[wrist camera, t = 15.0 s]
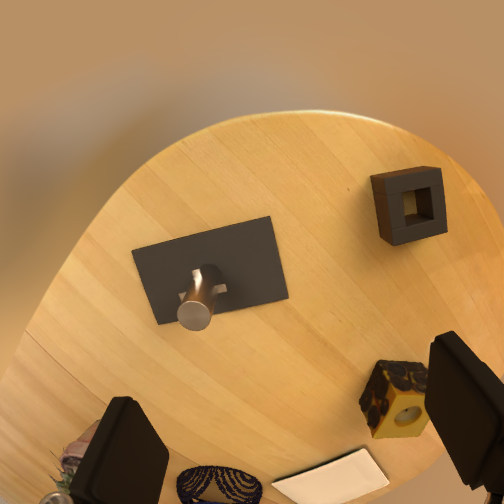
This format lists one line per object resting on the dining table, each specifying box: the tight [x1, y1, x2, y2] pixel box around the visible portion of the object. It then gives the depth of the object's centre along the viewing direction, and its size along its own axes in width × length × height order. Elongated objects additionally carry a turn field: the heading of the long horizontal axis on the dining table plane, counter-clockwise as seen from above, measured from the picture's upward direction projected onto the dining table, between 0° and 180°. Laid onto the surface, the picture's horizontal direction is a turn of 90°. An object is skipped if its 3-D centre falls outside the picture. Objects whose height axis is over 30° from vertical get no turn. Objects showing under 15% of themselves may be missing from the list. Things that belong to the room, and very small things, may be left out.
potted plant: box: [43, 420, 101, 495], centre depth 44 cm, size 18×20×25 cm
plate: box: [271, 448, 390, 504], centre depth 59 cm, size 22×22×2 cm
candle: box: [359, 360, 430, 439], centre depth 46 cm, size 10×10×10 cm
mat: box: [131, 216, 289, 325], centre depth 45 cm, size 12×20×1 cm, turn 104°
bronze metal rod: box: [177, 264, 227, 331], centre depth 39 cm, size 6×6×12 cm
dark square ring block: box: [370, 166, 448, 246], centre depth 39 cm, size 9×9×5 cm
